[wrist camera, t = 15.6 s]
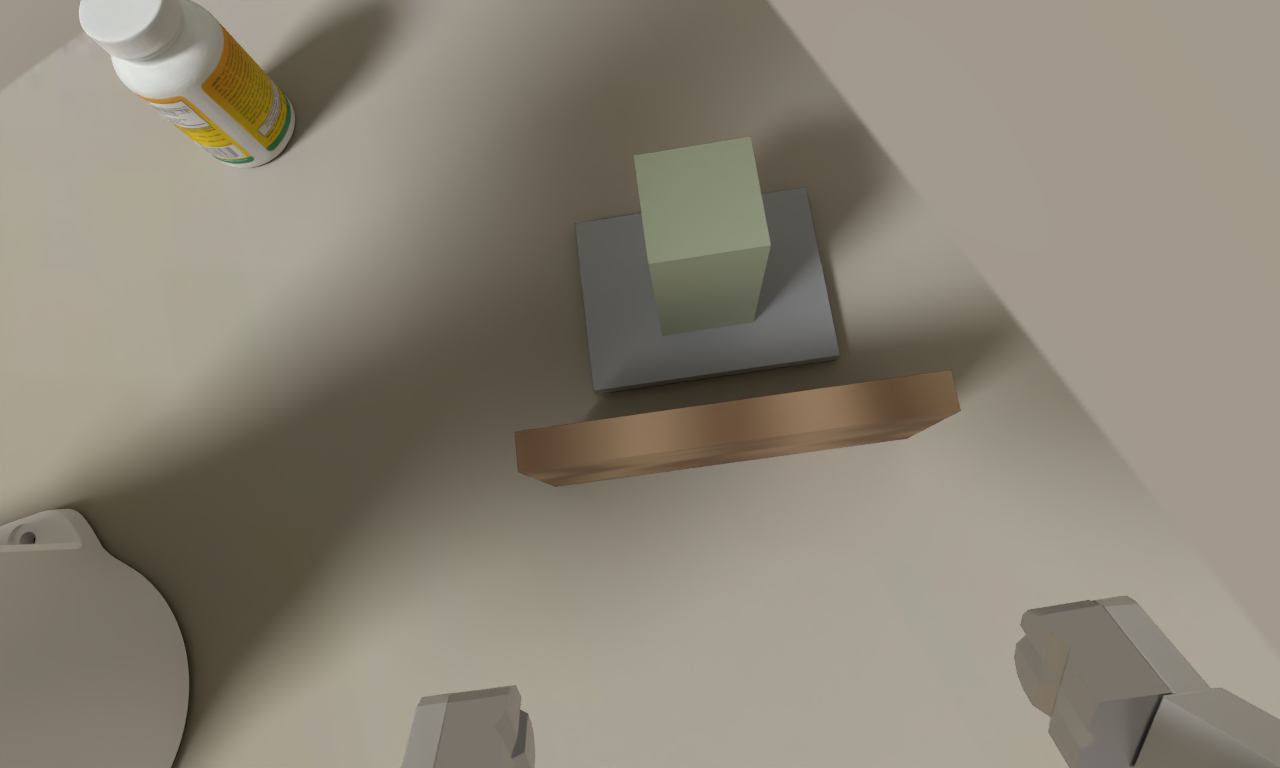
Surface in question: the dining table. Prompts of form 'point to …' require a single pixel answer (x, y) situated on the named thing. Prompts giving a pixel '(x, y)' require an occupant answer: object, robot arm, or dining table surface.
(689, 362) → the display mat
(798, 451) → the walnut screen
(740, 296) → the olive letter block
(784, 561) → the dining table surface
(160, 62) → the supplement bottle
